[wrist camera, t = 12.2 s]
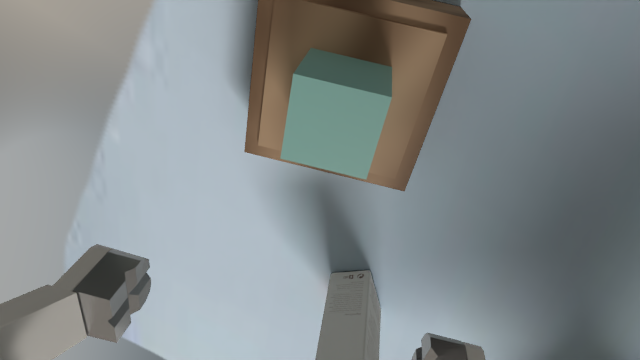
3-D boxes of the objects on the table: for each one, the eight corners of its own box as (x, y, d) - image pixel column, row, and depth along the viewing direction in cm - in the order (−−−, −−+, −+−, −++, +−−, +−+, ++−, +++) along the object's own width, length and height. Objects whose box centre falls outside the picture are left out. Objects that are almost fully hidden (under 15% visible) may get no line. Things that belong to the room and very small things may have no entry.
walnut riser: (460, 6, 25) (472, 20, 21) (403, 163, 31) (404, 193, 28) (278, -36, 25) (259, -30, 21) (259, 128, 32) (243, 153, 28)
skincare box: (329, 271, 40) (308, 387, 30) (370, 268, 38) (363, 387, 28) (343, 311, 42) (328, 428, 33) (382, 309, 41) (378, 429, 31)
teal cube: (392, 67, 23) (391, 97, 19) (370, 139, 26) (366, 179, 22) (310, 47, 23) (293, 73, 19) (298, 121, 26) (280, 158, 22)
